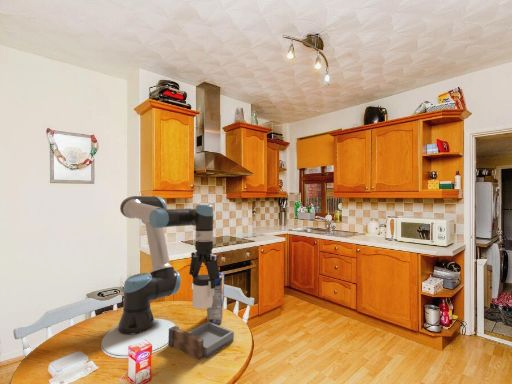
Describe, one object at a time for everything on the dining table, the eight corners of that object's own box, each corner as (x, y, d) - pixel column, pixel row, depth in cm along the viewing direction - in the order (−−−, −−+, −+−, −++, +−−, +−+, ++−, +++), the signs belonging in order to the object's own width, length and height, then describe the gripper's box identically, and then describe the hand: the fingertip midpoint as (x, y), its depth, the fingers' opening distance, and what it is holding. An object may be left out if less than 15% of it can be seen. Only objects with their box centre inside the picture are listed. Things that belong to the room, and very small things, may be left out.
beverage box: (206, 324, 129) (207, 278, 130) (210, 314, 140) (211, 272, 141) (220, 324, 130) (222, 278, 130) (223, 314, 140) (224, 272, 141)
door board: (168, 345, 110) (168, 328, 110) (174, 342, 112) (175, 325, 113) (197, 361, 100) (198, 342, 100) (204, 357, 102) (204, 338, 103)
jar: (196, 310, 108) (196, 280, 109) (189, 304, 115) (190, 276, 116) (216, 306, 113) (216, 277, 113) (209, 300, 120) (209, 273, 120)
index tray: (180, 345, 110) (180, 335, 110) (208, 330, 123) (208, 321, 123) (206, 358, 102) (207, 348, 102) (233, 340, 115) (233, 331, 115)
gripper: (181, 239, 118) (180, 291, 117) (216, 243, 106) (215, 301, 105) (194, 237, 124) (193, 287, 123) (228, 241, 112) (228, 296, 111)
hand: (203, 293), depth 114 cm, fingers closed on jar, 8 cm apart
